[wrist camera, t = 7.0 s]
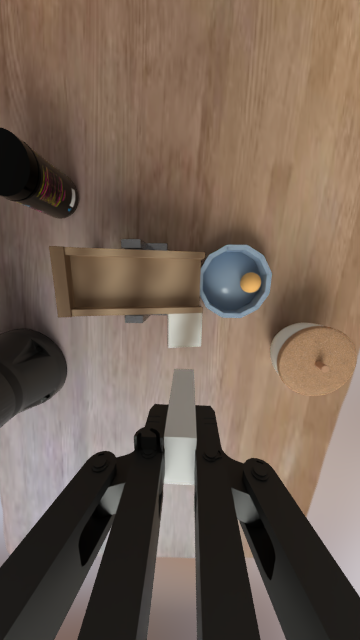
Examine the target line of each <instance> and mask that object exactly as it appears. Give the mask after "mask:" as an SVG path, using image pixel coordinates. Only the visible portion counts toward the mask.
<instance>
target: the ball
mask: <svg viewBox="0 0 360 640" xmlns="http://www.w3.org/2000/svg"><path fill="white" fill-rule="evenodd" d="M240 286H241V288H242V290H243V291H245V292H248V293H252V292H255V291H257V290H258V289H259V288H260V286H261V278H260V276H259V275H258V274H256V273H253V272H249V273H246V274H245V275H243V276H242V278H241V280H240Z"/></svg>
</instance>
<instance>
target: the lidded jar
mask: <svg viewBox="0 0 360 640" xmlns="http://www.w3.org/2000/svg"><path fill="white" fill-rule="evenodd" d="M270 358H271V362H272V364H273V367H274V368H275V370H276V372H277V373H278V375H279V376H280V378H281V379H282V381H283V382H284V383H285V384H286V385H287V387H289V388H290V389H291V390H293V391H295V392H296V393H299V394H302V395H307V396H319V395H325V394H328V393H330V392H333V391H335V390H337V389H338V388H340V387H341V386H342V385H343V384H345V383H346V381H347V380H348V379H349V378H350V376H351V375H352V373H353V371H354V369H355V366H356V359H357V357H356V350H355V347H354V345H353V343H352V341H351V340H350V339H349V337H347V336H346V335H345V334H344V333H342V332H341V331H338V330H336V329H333V328H330V327H326V326H323V325H319V324H315V323H296V324H292V325H289V326H287V327H285V328H283V329H282V330H281V331H279V332H278V333H277V334H276V336H275V337H274V339H273V341H272V343H271V347H270Z"/></svg>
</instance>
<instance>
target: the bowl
mask: <svg viewBox="0 0 360 640" xmlns="http://www.w3.org/2000/svg"><path fill="white" fill-rule="evenodd" d="M249 272H253V273H256V274H258V275H259V276H260V278H261V286H260V288H259V289H258V290H257V291H255V292H252V293H248V292H245V291H243V290H242V288H241V286H240V280H241V278H242V276H243V275H245V274H246V273H249ZM271 277H272V274H271V270H270V268H269V266H268V264H267V261H266V259H265V257H264V255H262V254H261V253H259V252H258V251H256V250H254V249H253V248H251V247H250V246H248V245H226V246H224V247H222V248H220V249H219V250H217V251H215V252H213V253H212V254H210V255H209V256H208V257H207V258H206V260H205V261H204V263H203V265H202V266H201V275H200V296H201V298H202V300H203V302H204V304H205V306H206V308H208V309H209V310H211V311H213V312H214V313H216V314H217V315H219V316H221V317H226V318H242V317H244V316H246V315H248V314H250V313H252V312H253V311H255V310H257V309H259V307H260V306H261V304H262V303H263V302H264V300H265V299H266V297H267V296H268V295H269V293H270V285H271Z"/></svg>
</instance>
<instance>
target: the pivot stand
mask: <svg viewBox="0 0 360 640" xmlns="http://www.w3.org/2000/svg"><path fill="white" fill-rule="evenodd" d="M121 247H122V248H124V249H130V250H158V251H167V243H145V242H144V241H142V240H141V239H121ZM150 315H167V314H145V315H125V323H143V322H144V321H145V320H146V319H147V318H148V317H149V316H150Z"/></svg>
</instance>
